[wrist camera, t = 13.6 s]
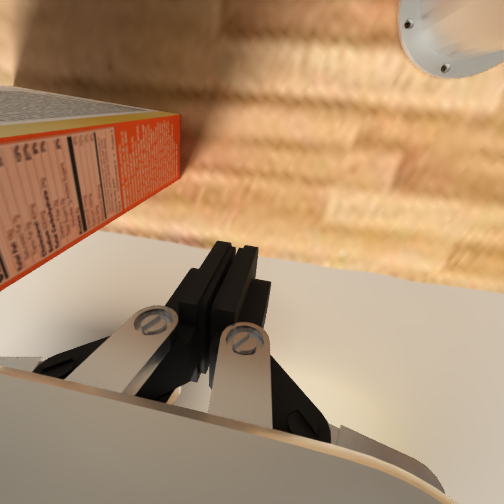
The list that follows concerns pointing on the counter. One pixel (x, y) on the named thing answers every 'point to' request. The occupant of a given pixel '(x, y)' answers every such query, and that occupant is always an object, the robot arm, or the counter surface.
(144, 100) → the counter surface
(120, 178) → the cereal box
